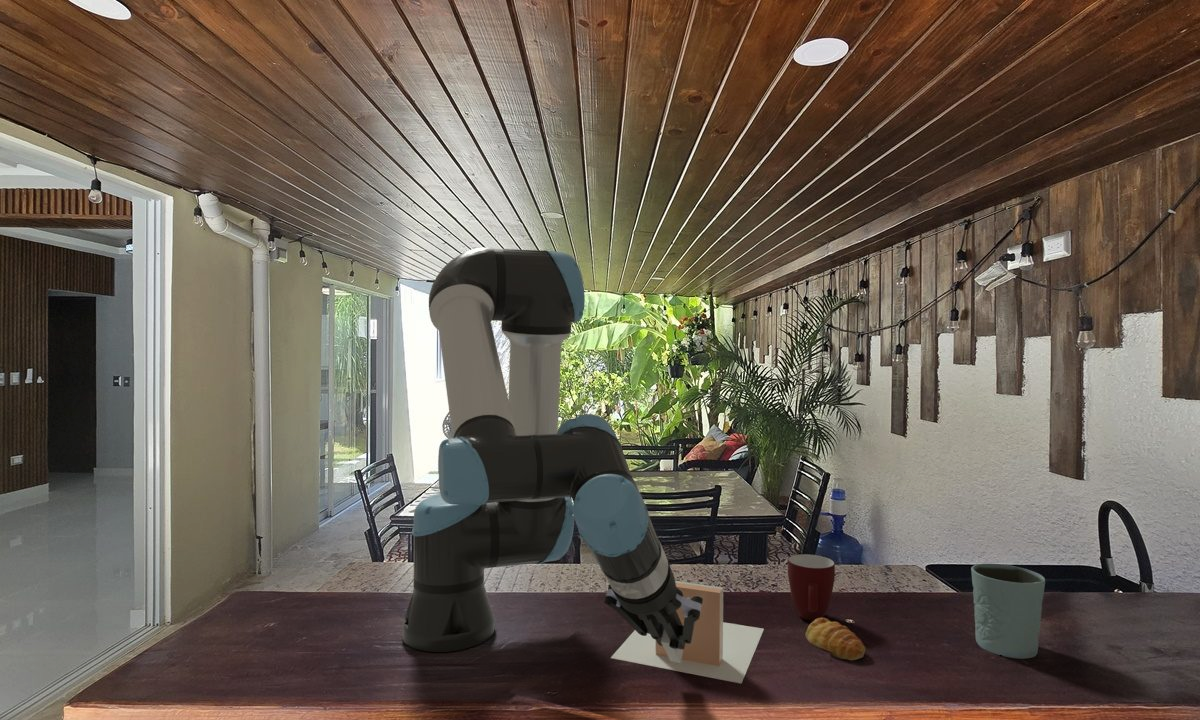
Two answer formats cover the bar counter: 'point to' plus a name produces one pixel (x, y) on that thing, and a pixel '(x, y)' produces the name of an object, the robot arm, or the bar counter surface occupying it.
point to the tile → (703, 625)
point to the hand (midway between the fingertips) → (677, 652)
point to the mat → (732, 668)
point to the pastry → (835, 639)
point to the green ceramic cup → (1007, 609)
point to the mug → (811, 584)
